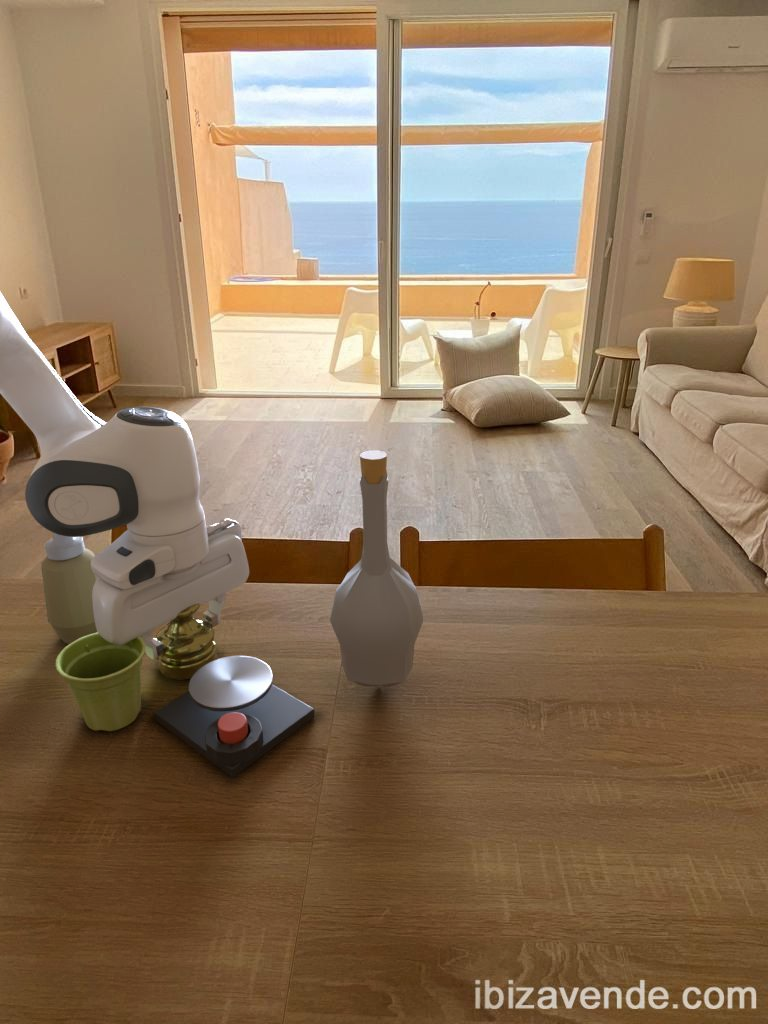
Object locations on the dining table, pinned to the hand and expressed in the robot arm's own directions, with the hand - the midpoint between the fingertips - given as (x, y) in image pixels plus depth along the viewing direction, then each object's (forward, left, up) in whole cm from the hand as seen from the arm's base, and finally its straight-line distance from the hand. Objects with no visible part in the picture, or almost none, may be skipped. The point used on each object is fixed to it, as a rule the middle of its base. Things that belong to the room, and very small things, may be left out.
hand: (184, 639), depth 88 cm
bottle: (+22, +12, -4) cm, 25 cm away
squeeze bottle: (-17, -5, -4) cm, 18 cm away
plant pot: (+1, -11, -4) cm, 12 cm away
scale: (+13, -3, -4) cm, 14 cm away
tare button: (+18, -6, -1) cm, 19 cm away
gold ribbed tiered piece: (0, 0, -4) cm, 4 cm away
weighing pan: (+11, -1, -1) cm, 11 cm away
